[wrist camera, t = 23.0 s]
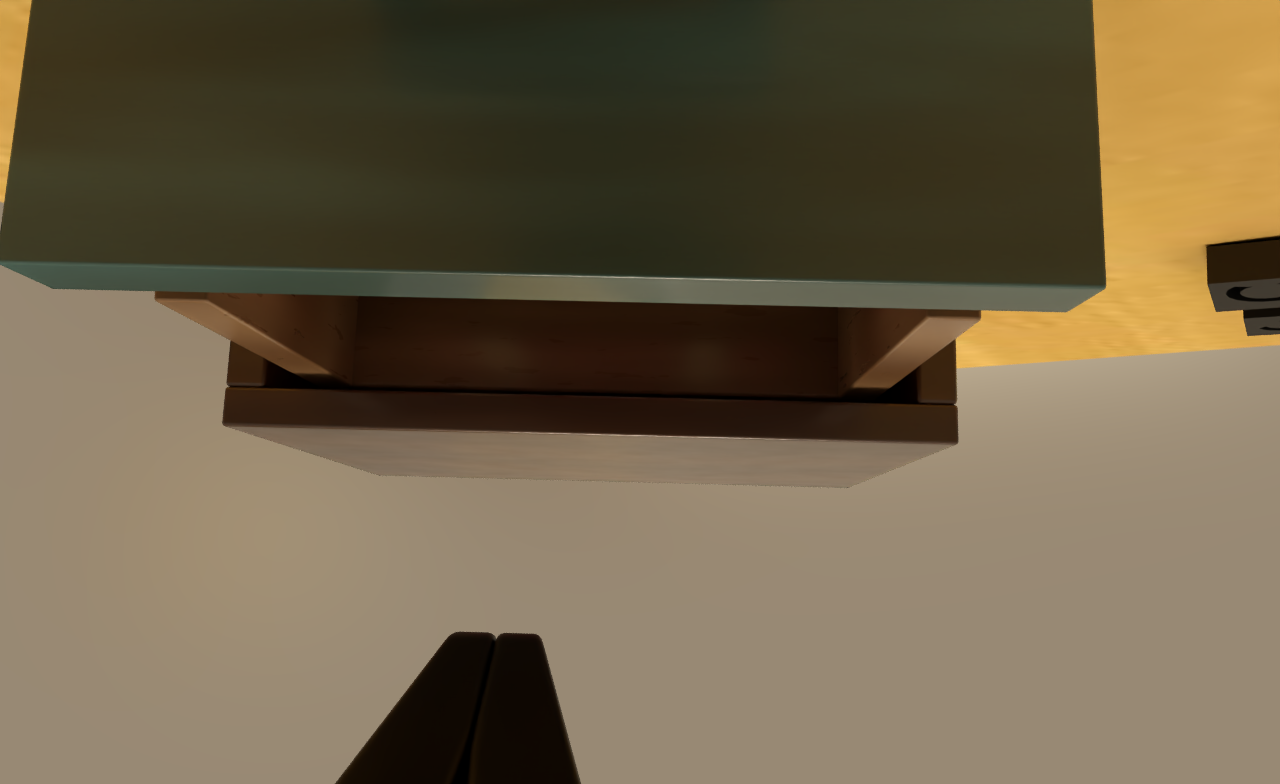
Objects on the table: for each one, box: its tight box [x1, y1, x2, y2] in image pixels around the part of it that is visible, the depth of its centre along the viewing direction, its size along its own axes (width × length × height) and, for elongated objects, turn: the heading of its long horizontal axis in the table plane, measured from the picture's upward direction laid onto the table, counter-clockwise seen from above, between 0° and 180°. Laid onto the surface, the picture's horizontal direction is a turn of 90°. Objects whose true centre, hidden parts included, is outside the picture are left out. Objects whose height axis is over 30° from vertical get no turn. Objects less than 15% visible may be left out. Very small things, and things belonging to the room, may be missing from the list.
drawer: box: [0, 0, 1106, 403], centre depth 16 cm, size 15×13×7 cm
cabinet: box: [222, 339, 958, 488], centre depth 27 cm, size 12×15×9 cm
